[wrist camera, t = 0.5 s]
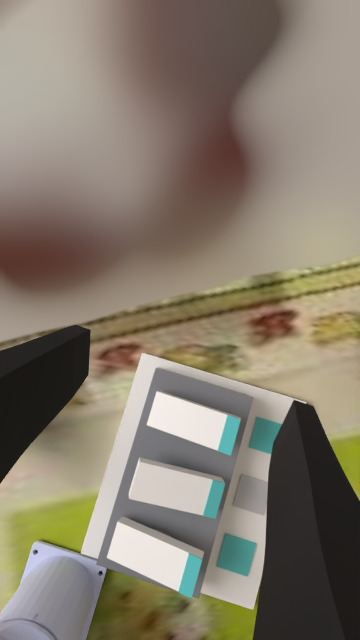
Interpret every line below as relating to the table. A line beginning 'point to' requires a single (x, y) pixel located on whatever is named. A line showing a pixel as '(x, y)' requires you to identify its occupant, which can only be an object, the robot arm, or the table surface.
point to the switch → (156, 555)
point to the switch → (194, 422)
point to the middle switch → (176, 488)
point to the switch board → (229, 514)
